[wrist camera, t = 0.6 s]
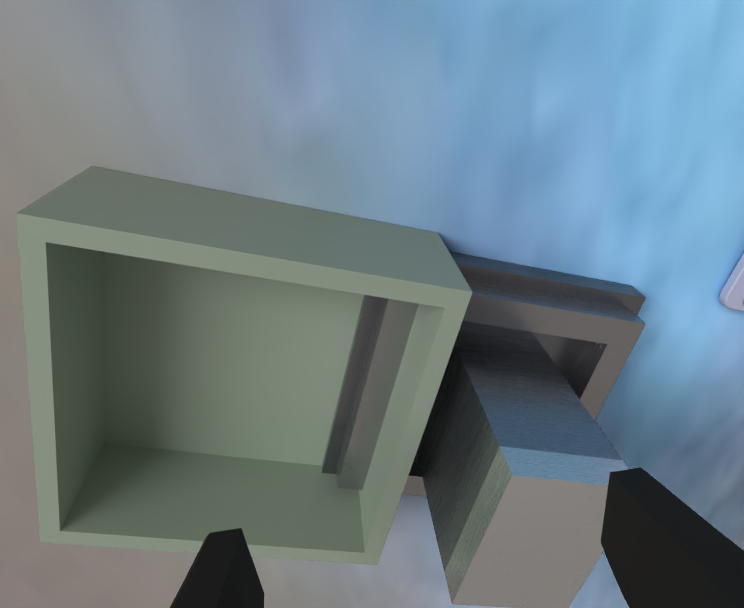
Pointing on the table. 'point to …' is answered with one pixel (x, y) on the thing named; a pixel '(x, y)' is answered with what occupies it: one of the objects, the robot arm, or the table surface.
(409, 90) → the table surface
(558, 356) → the socket block
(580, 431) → the grey plug block
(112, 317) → the bin
